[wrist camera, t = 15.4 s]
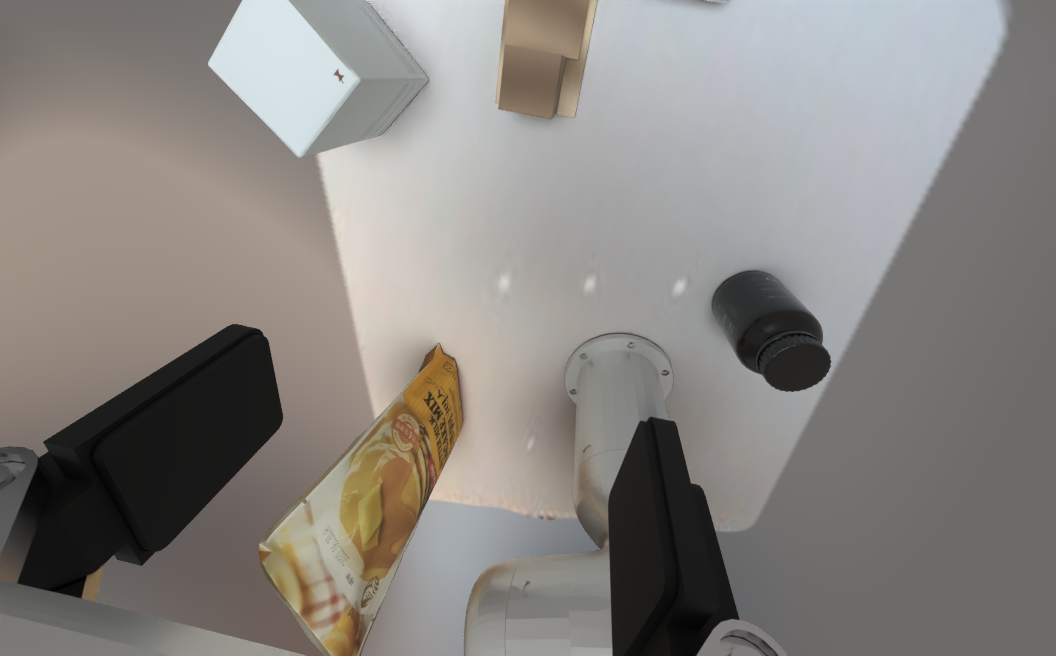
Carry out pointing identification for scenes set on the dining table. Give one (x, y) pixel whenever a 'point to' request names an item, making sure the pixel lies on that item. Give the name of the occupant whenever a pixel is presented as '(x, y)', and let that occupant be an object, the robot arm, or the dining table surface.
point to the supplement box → (317, 70)
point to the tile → (718, 1)
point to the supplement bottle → (771, 331)
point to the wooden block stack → (539, 53)
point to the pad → (571, 71)
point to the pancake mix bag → (364, 513)
